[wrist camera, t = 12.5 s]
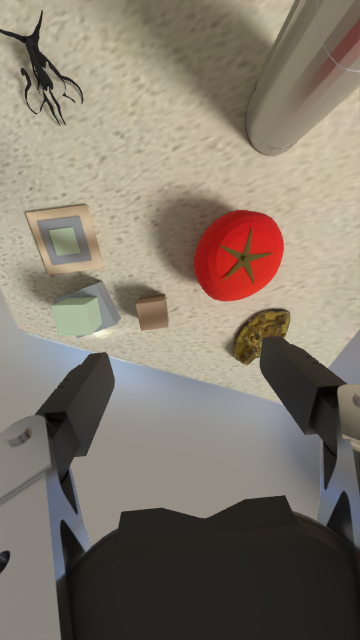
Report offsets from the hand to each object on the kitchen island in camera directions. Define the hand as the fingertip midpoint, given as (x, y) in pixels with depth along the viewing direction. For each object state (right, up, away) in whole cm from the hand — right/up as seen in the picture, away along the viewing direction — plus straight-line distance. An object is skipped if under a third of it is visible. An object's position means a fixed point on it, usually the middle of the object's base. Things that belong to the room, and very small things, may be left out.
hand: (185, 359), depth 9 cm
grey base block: (-18, +5, +27) cm, 32 cm away
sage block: (-17, +4, +23) cm, 29 cm away
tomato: (+8, +14, +25) cm, 30 cm away
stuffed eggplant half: (+17, -1, +31) cm, 35 cm away
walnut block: (-5, +4, +27) cm, 28 cm away
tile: (-20, +16, +22) cm, 34 cm away
